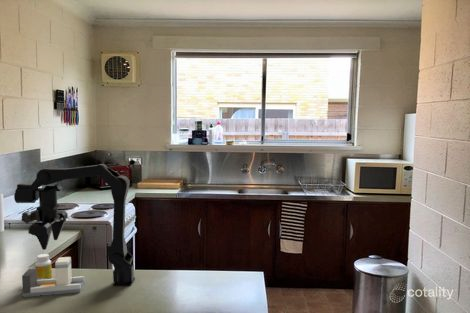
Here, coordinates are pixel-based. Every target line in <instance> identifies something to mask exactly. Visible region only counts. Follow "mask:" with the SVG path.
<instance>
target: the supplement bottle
mask: <svg viewBox="0 0 470 313" xmlns="http://www.w3.org/2000/svg"><path fill="white" fill-rule="evenodd" d="M36 260H37V261H36V262H35V263H34V264H35V267H34V268H36V270H37V280H41V279H53V270H52V260H50V255H49V254H48V253H41V254H38V255H36Z"/></svg>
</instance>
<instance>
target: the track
mask: <svg viewBox="0 0 470 313" xmlns="http://www.w3.org/2000/svg"><path fill="white" fill-rule="evenodd" d="M21 280H22V281H21V282H22V298H28V297H29V298H30V297H39V296H40V295H42V296H51V295H52V294H54V295H62V294H63V295H64V294H74V293H81V291H82V289H83V287H84V285H85V276H84V275H82V276H80V275H79V276H72V282H71V283H70V284H68V285H56V277H55V278H52V279H41V280H37V270H36V268H35V267H33V268H31V267H30V268H28V269H27V270H26V271H25V272H24V273H23V274H22V276H21ZM52 296H53V295H52Z"/></svg>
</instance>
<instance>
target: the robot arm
mask: <svg viewBox="0 0 470 313" xmlns="http://www.w3.org/2000/svg"><path fill="white" fill-rule="evenodd" d="M89 177H98V178H99V177H100V179H101V180H102V181H104V182H105V183H106V184H107V185H108V186H109V187H110V191H111V196H112V200H113V218H112V219H113V223H112V224H113V225H112V240H110V241H109V243H108V244H107V245H106V249H107V250H106V251H107V253H106V258H107V260H108V262H109V263H110V264H111V265H112V266H113V268H114V270H113V271H112V275H113V276H112V278H113V279H112V280H113V286H117V287H118V286H132V284H133V283H134V281H135V280H136V277H135V276H134V274H135V273H134V264H132V263H133V260H134V256H133V255H132V254H131V253H130V252H128V247H127V243H126V238H125V226H126V225H125V224H126V200H127V197H128V193H129V189H130V184H131V182H130V178H128V177H127V176H126V175H123V174H119V173H118V172H117V171H116V170H113V169H111V168H110V167H108V166H107V165H106V164H104V163H100V164H96V165H95V164H93V165H86V166H77V167H69V168H66V167H65V168H64V167H56V166H55V167H54V166H53V167H52V166H49V167H45V168H42V169H40V170H38V172H37V173H36V177H35V180H34V181H33V182H32V183H30V184H28V183H17V184H16V189H15V192H14V194H13V197H14V198H13V199H14V202H15V203H16V204H35V203H37V201H38V202H39V205H38V206H37V207H36V209H35V210H31V211H26V212H23V213H21V222H23V223H25V225H26V224H27V225H28V224H29V223H31V222H34V221H36V222H34V223H32V224H31V225H30V226H28V228H27V232H28V234H29V235H32V236H34V237H36V238H37V240H38V243H39V244H40V247H41V249H42V250H47V247H48V244H49V241H50V238H51V235H52V237H53V240H54V241H58V240H59V237H60V234H61V232H62V229H63V227H65V226H64V225H65V223H66V221H67V219H68V218H69V216H68V214H69V213H68V212H67V211H66V210H58V208H60V203H58V192H61V191H62V190H64V187H62V185H60V184H59V183H58V182H62V181H65V180H73V179H81V178H89ZM54 183H56V184H54ZM52 184H54V185H52ZM43 186H45V187H43Z"/></svg>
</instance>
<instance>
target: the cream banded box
mask: <svg viewBox="0 0 470 313" xmlns="http://www.w3.org/2000/svg"><path fill="white" fill-rule="evenodd" d="M54 263H55V265H54V266H55V278H56V285H68V284H70V283H71V282H72V277H73V276H72V273H73V272H72V257H71V256H64V257H63V256H62V257H58V258H57V259H56V261H55V262H54Z"/></svg>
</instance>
